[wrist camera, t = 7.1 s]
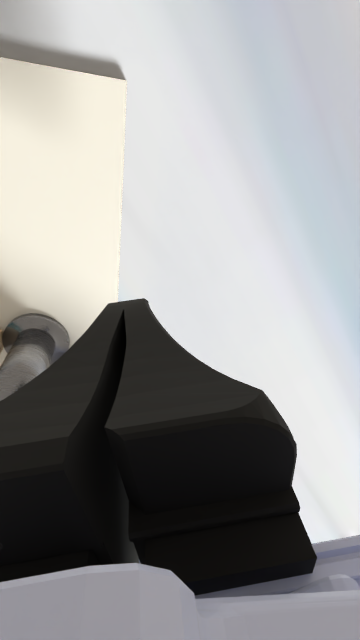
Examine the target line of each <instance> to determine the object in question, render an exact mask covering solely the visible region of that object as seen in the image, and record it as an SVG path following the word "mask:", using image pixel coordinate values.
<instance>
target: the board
mask: <svg viewBox="0 0 360 640" xmlns="http://www.w3.org/2000/svg"><path fill="white" fill-rule="evenodd" d="M126 96H127V81H126V80H121V79H116V78H110V77H105V76H99V75H94V74H89V73H83V72H78V71H72V70H67V69H62V68H56V67H51V66H45V65H40V64H35V63H29V62H24V61H18V60H13V59H8V58H2V57H0V329H2V336H3V332H4V330H5V328H6V327H7V325H8V324H9V323H10V322H11V321H12V320H13V319H14V318H16V317H18V316H20V315H23V314H29V313H37V314H43V315H46V316H49V317H52V318H53V319H55V320H57V321H58V322H60V323H61V324H62V325H63V326H64V328H65V329H66V330H67V332H68V334H69V338H70V346H69V348H70V347H71V346H72V345H73V344H74V343H75V342H76V341H77V340H78V339H79V338H80V337H81V336H82V335H83V334H84V333H85V331H86V330H87V329H88V328H89V327H90V325H91V324H92V323H93V322H94V320H95V319H96V318H97V317H98V315H99V314H100V313H101V312H102V310H103V309H104V308H105V307H106V305H107V304H108V303H114V302H118V285H119V262H120V238H121V214H122V191H123V167H124V143H125V120H126ZM6 355H7V352H6V351H5V349H4V347H3V350H2V352H1V353H0V366H1V364H2V363H3V361H4V359H5V357H6Z"/></svg>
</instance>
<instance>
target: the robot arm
mask: <svg viewBox="0 0 360 640" xmlns="http://www.w3.org/2000/svg"><path fill="white" fill-rule="evenodd" d="M296 457H297V448H296V443H295V441H294V439H293V436H292V434H291V432H290V430H289V428H288V426H287V424H286V423H285V421H284V419H283V418H282V416H281V415H280V414H279V412H278V411H277V409H276V408H275V406H274V405H273V404H272V402H271V401H270V400H269V398H268V397H267V396H266V394H265V393H264V392H263V391H262V390H260V389H257V388H255V387H252V386H250V385H247V384H245V383H242V382H240V381H237V380H234V379H232V378H230V377H228V376H226V375H224V374H222V373H220V372H218V371H216V370H214V369H212V368H211V367H209V366H207V365H206V364H204V363H203V362H201V361H200V360H198V359H197V358H195V357H194V356H193V355H191V354H190V353H189V352H187V351H186V350H185V349H184V348H183V347H182V346H180V345H179V344H178V343H177V342H176V341H175V340H174V339H173V338H172V337H171V336H170V335H169V334H168V332H167V331H166V330H165V329H164V328H163V327H162V325H161V324H160V323H159V321H158V320H157V319H156V317H155V316H154V314H153V312H152V311H151V309H150V307H149V304H148V301H147V300H146V299H144V298H143V299H136V300H129V301H122V302H114V303H108V304H107V305H106V307H105V308H104V309H103V310H102V312H101V313H100V314H99V315H98V317H97V318H96V319H95V320H94V322H93V323H92V324H91V325H90V327H89V328H88V329H87V330H86V331H85V333H84V334H83V335H82V336H81V337H80V338H79V339H78V340H77V341H76V342H75V343H74V344H73V345H72V346H71V347H70V348H69V349H68V350H67V351H66V352H65V353H64V354H63V355H62V356H61V357H60V358H59V359H58V360H56V361H55V362H54V363H53V364H52V365H51V366H49V367H48V368H47V369H46V370H45V371H43V372H42V373H41V374H39V375H38V376H37V377H35V378H34V379H32V380H31V381H30V382H28V383H27V384H25V385H24V386H23V387H21V388H20V389H18V390H17V391H16V392H14V393H12V394H11V395H9V396H8V397H6V398H5V399H3V400H1V401H0V640H360V535H357V536H352V537H346V538H341V539H336V540H330V541H325V542H319V543H314V544H311V542H310V539H309V537H308V535H307V532H306V530H305V528H304V525H303V523H302V521H301V518H300V516H299V513H298V512H299V511H300V506H299V502H298V500H297V497H296V495H295V493H294V490H293V488H292V480H293V475H294V469H295V463H296Z"/></svg>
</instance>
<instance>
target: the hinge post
mask: <svg viewBox="0 0 360 640" xmlns="http://www.w3.org/2000/svg"><path fill="white" fill-rule="evenodd" d="M2 343H3V347H4V349H5V351H6V352H7V355H6V357H5V359H4V361H3V363H2V364H1V366H0V401H1V400H3V399H5V398H6V397H8V396H9V395H11V394H12V393H14V392H16V391H17V390H18V389H20V388H21V387H23V386H24V385H25V384H27V383H28V382H30V381H31V380H32V379H34V378H35V377H37V376H38V375H39V374H41V373H42V372H43V371H45V370H46V369H47V368H48V367H49V366H51V365H52V364H53V363H54V362H55V361H56V360H58V359H59V358H60V357H61V356H62V355H63V354H64V353H65V352H66V351H67V350H68V349H69V346H70V338H69V334H68V332H67V330H66V329H65V328H64V326H63V325H62V324H61V323H60V322H58V321H57V320H55V319H53V318H52V317H49V316H46V315H43V314H37V313H29V314H23V315H20V316H18V317H16V318H14V319H13V320H12V321H11V322H10V323H9V324H8V325H7V327H6V328H5V330H4V332H3V336H2Z"/></svg>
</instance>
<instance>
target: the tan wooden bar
mask: <svg viewBox="0 0 360 640" xmlns="http://www.w3.org/2000/svg"><path fill="white" fill-rule="evenodd" d="M2 350H3V343H2V329H0V353H1V352H2Z"/></svg>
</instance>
